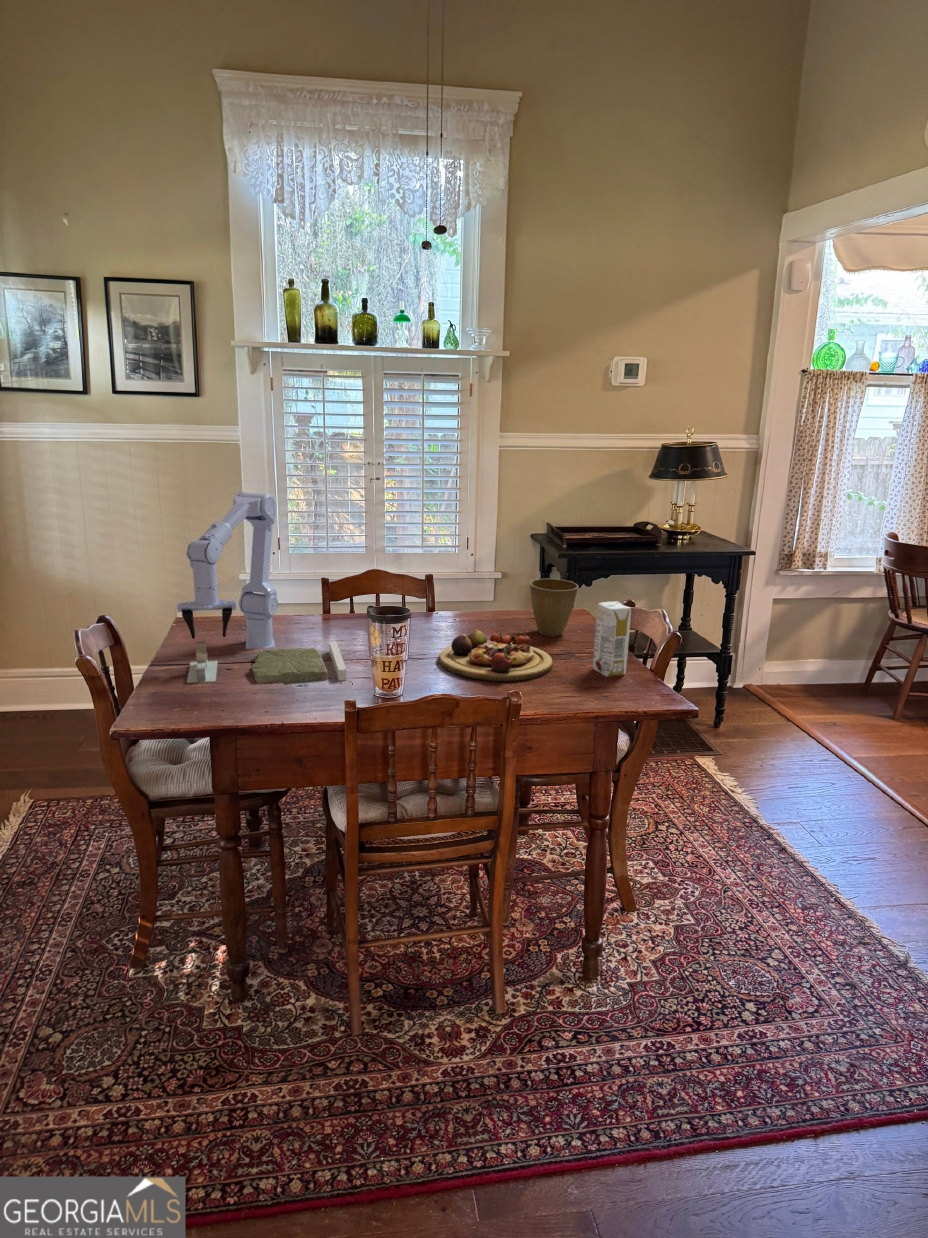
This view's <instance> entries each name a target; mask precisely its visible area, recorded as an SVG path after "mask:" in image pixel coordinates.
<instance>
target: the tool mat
mask: <svg viewBox="0 0 928 1238" xmlns="http://www.w3.org/2000/svg"><path fill="white" fill-rule="evenodd" d="M197 663H198V662H197V661H190V662H189V668H188V673H187V678H186V679H187V680H186V684H188V683H189V684H191V683H198V682H197V672H196V669H197ZM217 670H218V660H208V665H207V673H206V681H200V682H199V683H204V682H205V683H206V682H216V680H217Z"/></svg>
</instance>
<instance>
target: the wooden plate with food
mask: <svg viewBox="0 0 928 1238" xmlns="http://www.w3.org/2000/svg"><path fill="white" fill-rule="evenodd" d="M489 639H490V640H488V639H487V637H486V634H484V633H483V631H480V630H479V629H478V628H477V629H476V630H473V631H472V632H470V633H469V634H468V635H466V634H465V633H462V634H460V635H457V636H455V638H454V639H453V640H452V642H451V645H449V646H447V647H446V648H444V649H443V650H441V651H440V653H439V656H438V661H439V664H440V665H441V666H442V667H443V668H444V669H446V670H448V671H449V672H452V673H453V674H457V675H458V676H463V677H466V678H472V679H476V680H483V681H493V682H495V681H496V682H510V681H511V682H513V681H524V680H531V679H534V678H539V677H542V676H543V675H546V674H547V673H549V672H550V671H551V670H552V669H553V665H554V662H553V661H554V660H553V659H552V657H551V656H550V655H549V654H548V653H547V652H545V651H544V650H542V649H540V648H537V647H534V646H531V643H532V641H531V638H530V636H528V635H526V634H523V635H521V633H520V632H519V633H516V635H513V636H512V637H511V636H510V635H509V633H506V634H502V633H501V632H499V631H495V632H493V633H491V635H490V638H489Z"/></svg>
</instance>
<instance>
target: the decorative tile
mask: <svg viewBox="0 0 928 1238" xmlns="http://www.w3.org/2000/svg"><path fill="white" fill-rule="evenodd" d="M253 658H254V659H253V660H254V662H255V663H253V664H252V665H251V671H252V674H253V678H254V681H255V682H256V684H269V683H281V682H282V683H283V684H294V683H308V682H320V681H327V680H328V669H327V667H326V665H325V663H324V660H323V658H322V656H321V654H320V652H319V650H318V649H316V648H315V647H313V648H305V647H298V648H291V647H290V648H281V649H266V650H262V651H257V652H256V656H254V657H253Z"/></svg>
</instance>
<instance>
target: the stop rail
mask: <svg viewBox="0 0 928 1238" xmlns="http://www.w3.org/2000/svg"><path fill="white" fill-rule="evenodd" d="M328 644H329V650H328V651H329V654H330V655H329V656H330V658H331V661H332V664H333V667H334V670H335V671H334V672H335V674H336V677H337V680H338V682H339V681H341V682H343V681H347V667H346V665H345V661H344V659H343V656H342V654H341V651H340V649H339V645H338V642H337V641H329V643H328Z"/></svg>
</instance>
